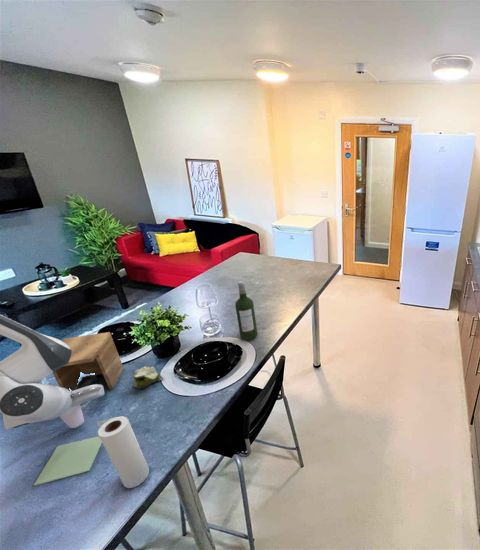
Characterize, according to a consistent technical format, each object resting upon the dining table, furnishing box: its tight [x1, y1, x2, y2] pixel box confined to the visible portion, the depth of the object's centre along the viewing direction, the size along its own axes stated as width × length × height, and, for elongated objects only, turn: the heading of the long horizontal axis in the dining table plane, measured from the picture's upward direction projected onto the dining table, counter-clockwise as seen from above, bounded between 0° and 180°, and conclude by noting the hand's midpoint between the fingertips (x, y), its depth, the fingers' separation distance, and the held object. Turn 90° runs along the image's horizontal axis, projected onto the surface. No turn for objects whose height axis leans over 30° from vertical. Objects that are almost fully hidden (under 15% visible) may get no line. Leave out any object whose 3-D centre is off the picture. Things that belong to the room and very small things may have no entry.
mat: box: [33, 435, 103, 487], centre depth 86 cm, size 12×12×1 cm
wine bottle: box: [234, 280, 258, 341], centre depth 138 cm, size 8×8×30 cm
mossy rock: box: [132, 366, 164, 389], centre depth 113 cm, size 9×9×8 cm
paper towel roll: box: [96, 415, 150, 489], centre depth 78 cm, size 7×6×21 cm
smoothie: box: [58, 404, 85, 429], centre depth 92 cm, size 6×6×14 cm
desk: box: [52, 331, 125, 391], centre depth 107 cm, size 14×16×18 cm
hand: (67, 405), depth 92 cm, fingers closed on smoothie, 6 cm apart
